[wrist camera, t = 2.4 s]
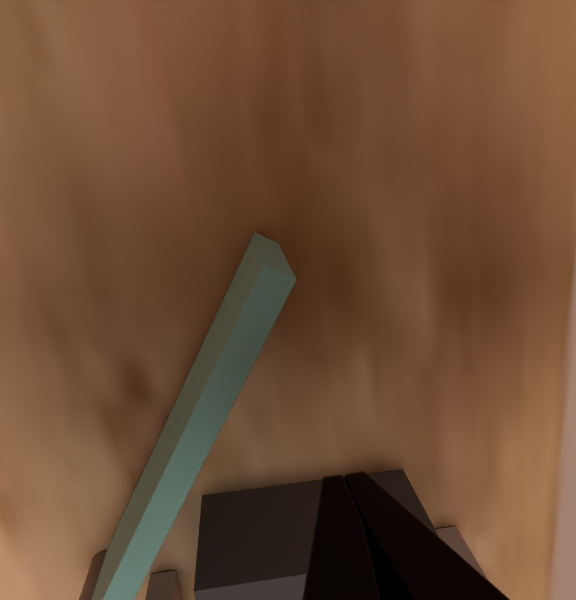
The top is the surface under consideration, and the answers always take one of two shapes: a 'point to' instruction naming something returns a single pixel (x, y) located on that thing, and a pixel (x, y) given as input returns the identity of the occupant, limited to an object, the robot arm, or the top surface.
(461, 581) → the robot arm
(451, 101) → the top surface
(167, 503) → the bar
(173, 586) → the frame
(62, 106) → the top surface
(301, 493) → the block
